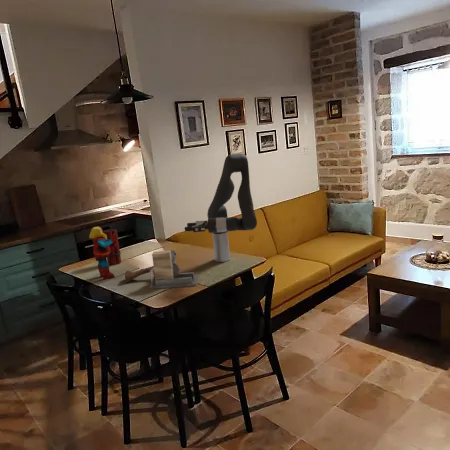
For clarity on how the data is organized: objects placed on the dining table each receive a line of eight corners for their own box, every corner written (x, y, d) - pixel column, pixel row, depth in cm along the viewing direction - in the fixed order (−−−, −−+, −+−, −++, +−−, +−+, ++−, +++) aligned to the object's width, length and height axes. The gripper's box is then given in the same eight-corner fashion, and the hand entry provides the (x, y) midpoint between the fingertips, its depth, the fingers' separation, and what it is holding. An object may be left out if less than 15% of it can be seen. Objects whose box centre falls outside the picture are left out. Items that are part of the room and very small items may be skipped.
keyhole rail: (155, 279, 222) (153, 265, 220) (199, 276, 220) (197, 262, 218) (149, 289, 208) (147, 274, 206) (196, 285, 206) (194, 270, 204)
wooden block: (157, 280, 216) (153, 251, 213) (174, 279, 216) (170, 250, 212) (155, 283, 212) (151, 254, 209) (172, 282, 212) (169, 252, 208)
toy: (126, 276, 231) (119, 225, 225) (100, 283, 223) (92, 230, 217) (118, 270, 243) (111, 222, 237) (93, 277, 236) (85, 226, 230)
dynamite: (104, 263, 261) (97, 218, 255) (117, 260, 267) (111, 215, 260) (111, 266, 254) (104, 219, 247) (124, 262, 259) (117, 216, 253)
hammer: (129, 282, 230) (181, 268, 232) (128, 292, 221) (182, 277, 223) (121, 260, 224) (174, 246, 226) (120, 269, 215) (175, 254, 217)
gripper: (217, 214, 212) (187, 217, 213) (215, 220, 198) (183, 223, 199) (219, 228, 214) (188, 230, 215) (217, 235, 200) (184, 237, 201)
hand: (186, 227), depth 207 cm, fingers open, 8 cm apart
